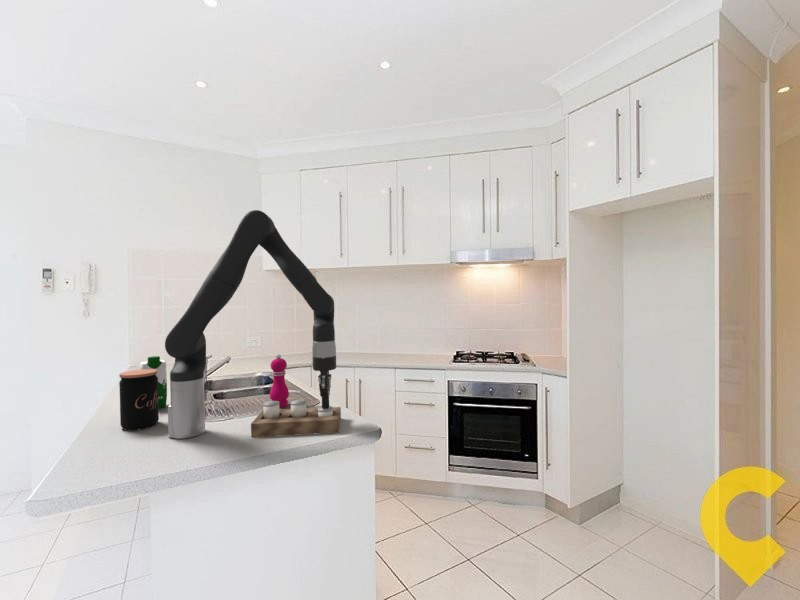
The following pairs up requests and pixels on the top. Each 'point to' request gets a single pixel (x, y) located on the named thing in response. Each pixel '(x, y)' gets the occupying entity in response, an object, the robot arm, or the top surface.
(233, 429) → the top surface
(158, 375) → the milk carton
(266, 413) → the knob
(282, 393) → the pepper mill
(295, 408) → the middle knob
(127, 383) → the coffee jar
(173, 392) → the robot arm
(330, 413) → the knob
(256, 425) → the control board
